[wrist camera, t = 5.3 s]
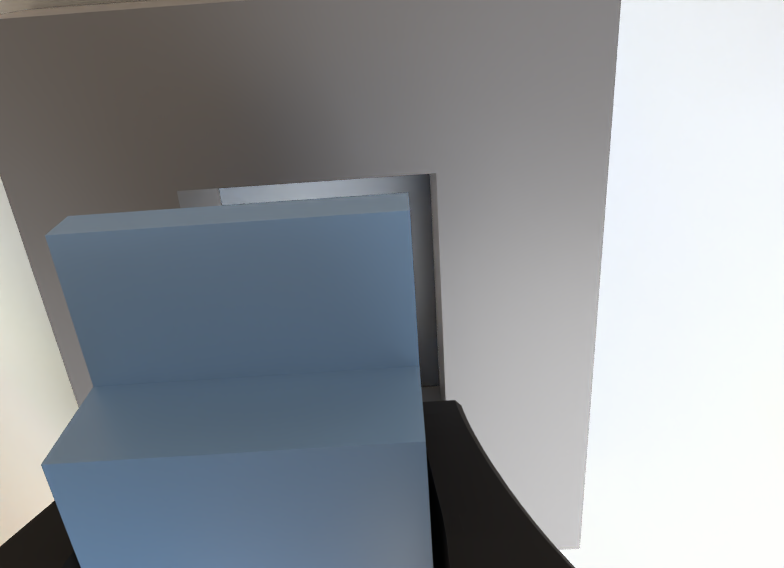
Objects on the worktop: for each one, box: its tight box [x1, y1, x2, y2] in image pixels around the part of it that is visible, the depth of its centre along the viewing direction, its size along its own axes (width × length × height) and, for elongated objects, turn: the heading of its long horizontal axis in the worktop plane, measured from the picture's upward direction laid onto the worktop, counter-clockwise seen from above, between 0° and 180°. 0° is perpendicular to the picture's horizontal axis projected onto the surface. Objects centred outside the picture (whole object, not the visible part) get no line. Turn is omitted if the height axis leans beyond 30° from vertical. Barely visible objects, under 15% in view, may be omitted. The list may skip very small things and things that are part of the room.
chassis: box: [0, 0, 621, 550], centre depth 16 cm, size 12×14×3 cm
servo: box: [41, 193, 433, 568], centre depth 10 cm, size 4×10×6 cm, turn 4°
